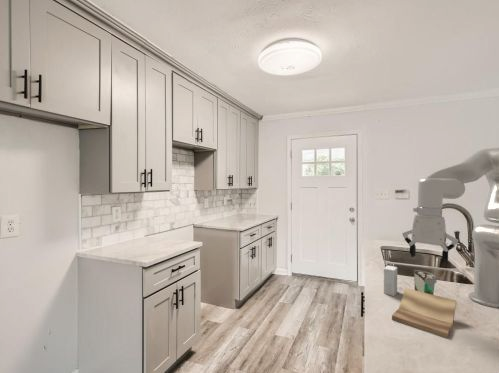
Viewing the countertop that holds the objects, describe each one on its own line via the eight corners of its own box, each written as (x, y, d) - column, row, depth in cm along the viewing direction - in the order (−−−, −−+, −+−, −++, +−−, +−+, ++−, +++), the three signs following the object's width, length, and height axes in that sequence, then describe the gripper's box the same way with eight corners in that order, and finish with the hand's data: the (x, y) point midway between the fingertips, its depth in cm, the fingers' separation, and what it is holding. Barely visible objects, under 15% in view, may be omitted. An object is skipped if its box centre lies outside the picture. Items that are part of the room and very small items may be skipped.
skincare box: (386, 291, 123) (387, 265, 123) (397, 294, 120) (397, 266, 120) (383, 295, 118) (383, 268, 118) (394, 298, 116) (394, 270, 115)
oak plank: (405, 290, 108) (405, 287, 107) (456, 303, 97) (456, 300, 96) (399, 310, 103) (399, 308, 102) (452, 326, 91) (452, 324, 91)
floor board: (404, 303, 111) (404, 297, 111) (460, 319, 98) (460, 312, 98) (388, 322, 97) (388, 315, 97) (451, 343, 84) (451, 335, 84)
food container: (442, 304, 110) (442, 280, 110) (425, 303, 111) (425, 279, 111) (428, 292, 122) (429, 270, 122) (413, 291, 123) (413, 269, 123)
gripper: (400, 210, 104) (399, 256, 104) (457, 215, 92) (455, 266, 92) (406, 209, 109) (404, 252, 109) (460, 213, 97) (459, 262, 97)
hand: (428, 258), depth 101 cm, fingers open, 9 cm apart
